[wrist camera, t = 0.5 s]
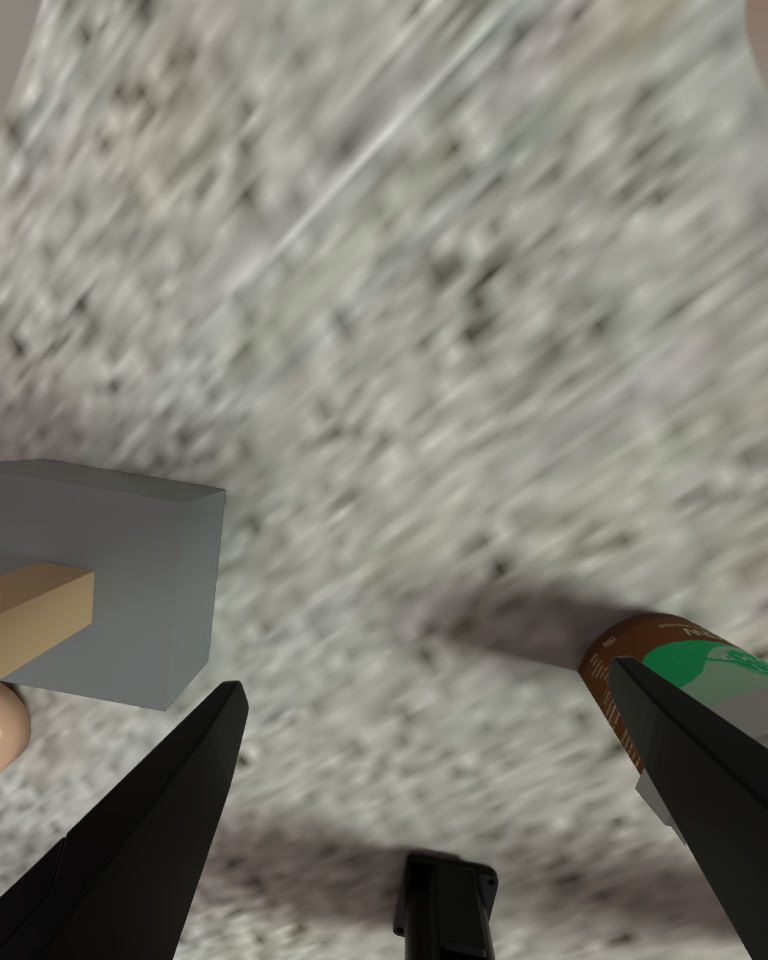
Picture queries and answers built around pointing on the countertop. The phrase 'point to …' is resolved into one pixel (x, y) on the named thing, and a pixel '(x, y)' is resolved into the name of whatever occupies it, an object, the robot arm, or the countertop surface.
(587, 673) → the food container
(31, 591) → the cover
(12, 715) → the bowl
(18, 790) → the countertop surface
